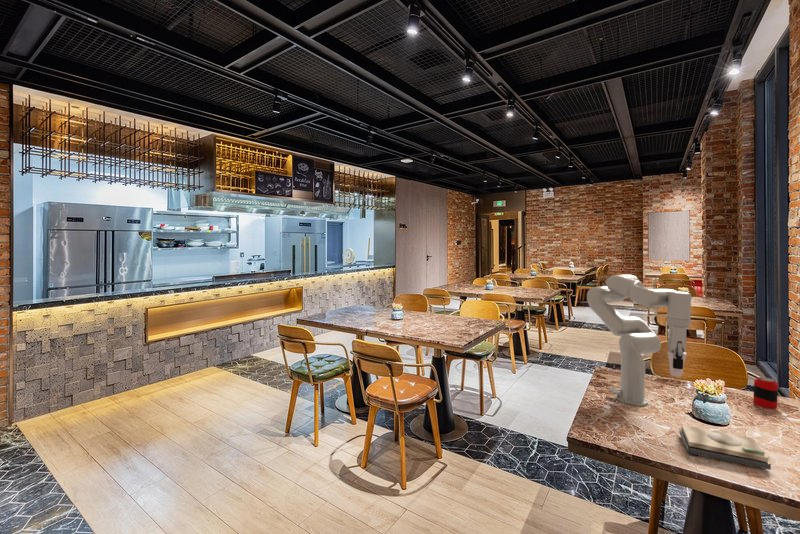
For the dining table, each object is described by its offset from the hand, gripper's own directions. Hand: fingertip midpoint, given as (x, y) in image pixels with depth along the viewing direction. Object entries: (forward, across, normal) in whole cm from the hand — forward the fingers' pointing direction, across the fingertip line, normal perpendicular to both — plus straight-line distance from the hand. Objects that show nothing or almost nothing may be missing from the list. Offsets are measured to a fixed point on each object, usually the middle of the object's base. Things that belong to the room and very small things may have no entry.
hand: (676, 365), depth 150 cm
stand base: (+23, +21, +10) cm, 33 cm away
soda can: (+24, -38, +38) cm, 59 cm away
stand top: (+20, +21, +10) cm, 31 cm away
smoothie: (+4, 0, 0) cm, 4 cm away
